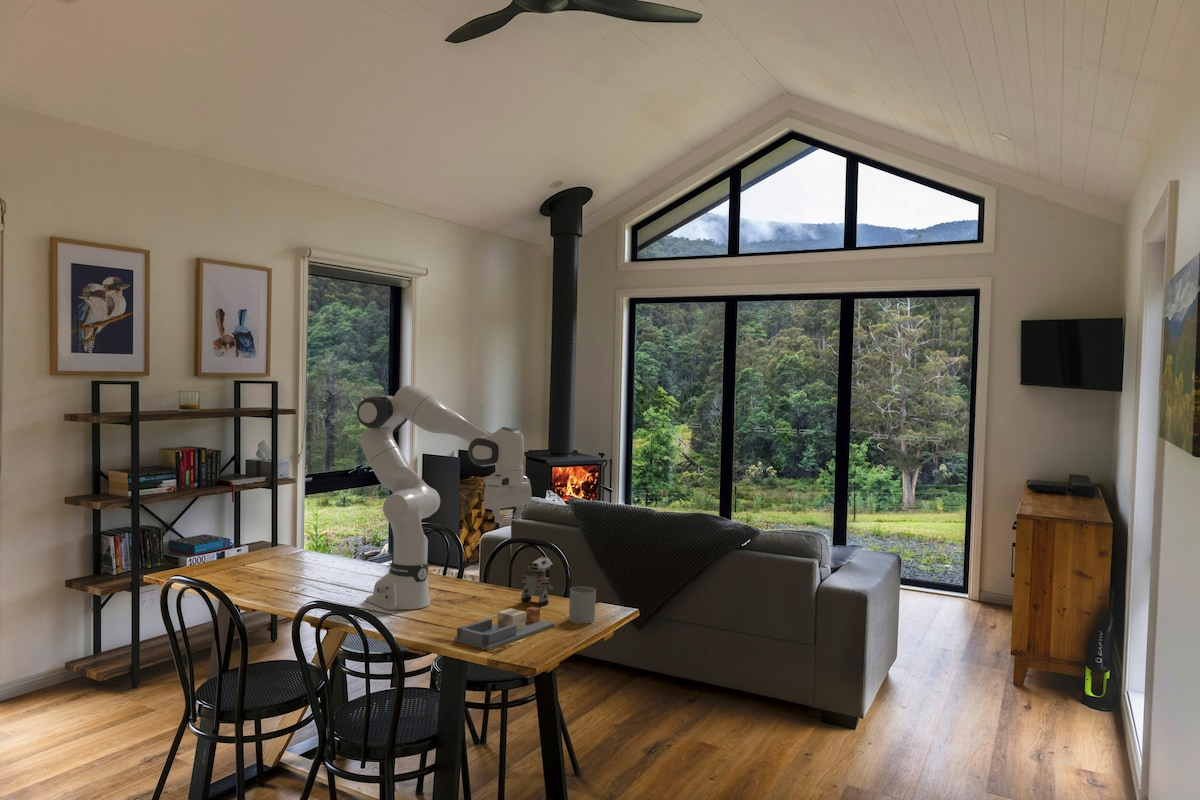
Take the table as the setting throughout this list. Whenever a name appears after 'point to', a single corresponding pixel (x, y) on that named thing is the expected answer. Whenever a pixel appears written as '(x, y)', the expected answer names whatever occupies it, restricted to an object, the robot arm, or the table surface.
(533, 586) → the figurine
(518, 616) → the block
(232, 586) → the table surface
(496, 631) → the grey slider tray
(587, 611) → the cup
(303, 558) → the table surface
